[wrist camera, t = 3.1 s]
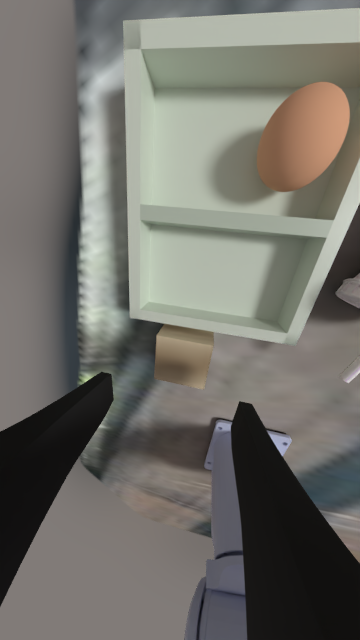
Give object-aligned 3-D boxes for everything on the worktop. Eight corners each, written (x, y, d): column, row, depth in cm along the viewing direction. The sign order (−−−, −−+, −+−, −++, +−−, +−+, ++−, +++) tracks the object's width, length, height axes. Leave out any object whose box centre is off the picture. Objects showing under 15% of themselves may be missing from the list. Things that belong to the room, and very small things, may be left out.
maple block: (205, 358, 17) (204, 389, 13) (166, 351, 17) (154, 378, 14) (213, 322, 15) (213, 345, 11) (169, 315, 16) (156, 335, 12)
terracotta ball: (303, 201, 10) (345, 180, 7) (243, 197, 10) (257, 175, 7) (331, 120, 9) (399, 46, 5) (260, 118, 9) (286, 49, 6)
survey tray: (280, 328, 14) (295, 345, 12) (143, 306, 15) (129, 317, 13) (377, 77, 8) (449, 3, 6) (146, 79, 10) (123, 20, 7)
